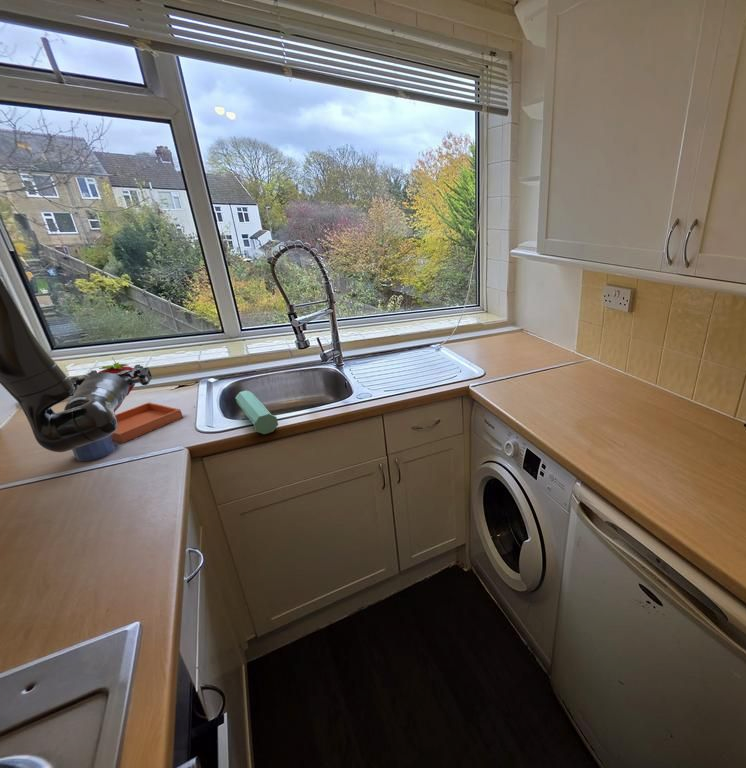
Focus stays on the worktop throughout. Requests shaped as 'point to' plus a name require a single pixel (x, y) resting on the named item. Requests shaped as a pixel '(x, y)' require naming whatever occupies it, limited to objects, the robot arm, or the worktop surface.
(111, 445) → the blue cup
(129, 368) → the strawberry
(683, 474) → the worktop surface
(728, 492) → the worktop surface
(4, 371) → the robot arm
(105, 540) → the worktop surface
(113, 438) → the terracotta tray
